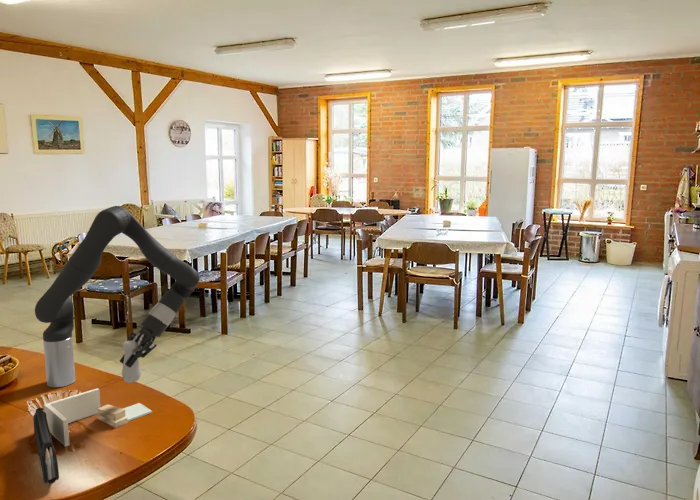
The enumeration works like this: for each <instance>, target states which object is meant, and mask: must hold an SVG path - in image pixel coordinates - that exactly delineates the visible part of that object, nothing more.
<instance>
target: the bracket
mask: <svg viewBox="0 0 700 500" xmlns="http://www.w3.org/2000/svg"><path fill="white" fill-rule="evenodd" d="M100 407H102V405H101V392H100V388H94V389H91V390H87V391H83V392H81V393H76V394H74V395H71V396H68V397H65V398H61V399H57V400H54V401H51V402H47V403H45V404H43V410H44V412H45V413H46V417H47V423H48V427H49V431H50V435H51V436H53V437H54V438H55V439H56V440H57V441H59V443H61V444H62V445H63V446H64V447H65V448H66V447H68V446H70V433H69V424H70V423H73V422H76V421H79V420H82V419H85V418H87V417H90V416H91V417H92V416H94V415H98V408H100Z"/></svg>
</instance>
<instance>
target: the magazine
mask: <svg viewBox="0 0 700 500" xmlns="http://www.w3.org/2000/svg"><path fill="white" fill-rule="evenodd" d="M32 418H33V429H34V430H33V431H34V437H35V443H36V448H37V454H38V459H39V464H40V469H41V473H42V478H43V482H44V483H45V484H49V485H51V484H54V483H56V481H58V480H59V479H60V472H59V462H58V456H57V451H56V449H55V446H54V443H53V440H52V434H51V433H50V431H49V427H48V423H47V417H46V413H45V410H44V407H38V408H35V413H34V414H33V416H32Z"/></svg>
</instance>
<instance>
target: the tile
mask: <svg viewBox="0 0 700 500" xmlns="http://www.w3.org/2000/svg"><path fill="white" fill-rule="evenodd" d="M122 409H125V417H127V420H128V422H130V421H133V420H135V419H138V418H141V417H145V416H146V415H149V414H152V413H153V410H151V409H150V408H149V407H147V406H146V405H144V404H142V403H140V402H137V403H135V404H132V405H129V406H126V407H123V408H122Z"/></svg>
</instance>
